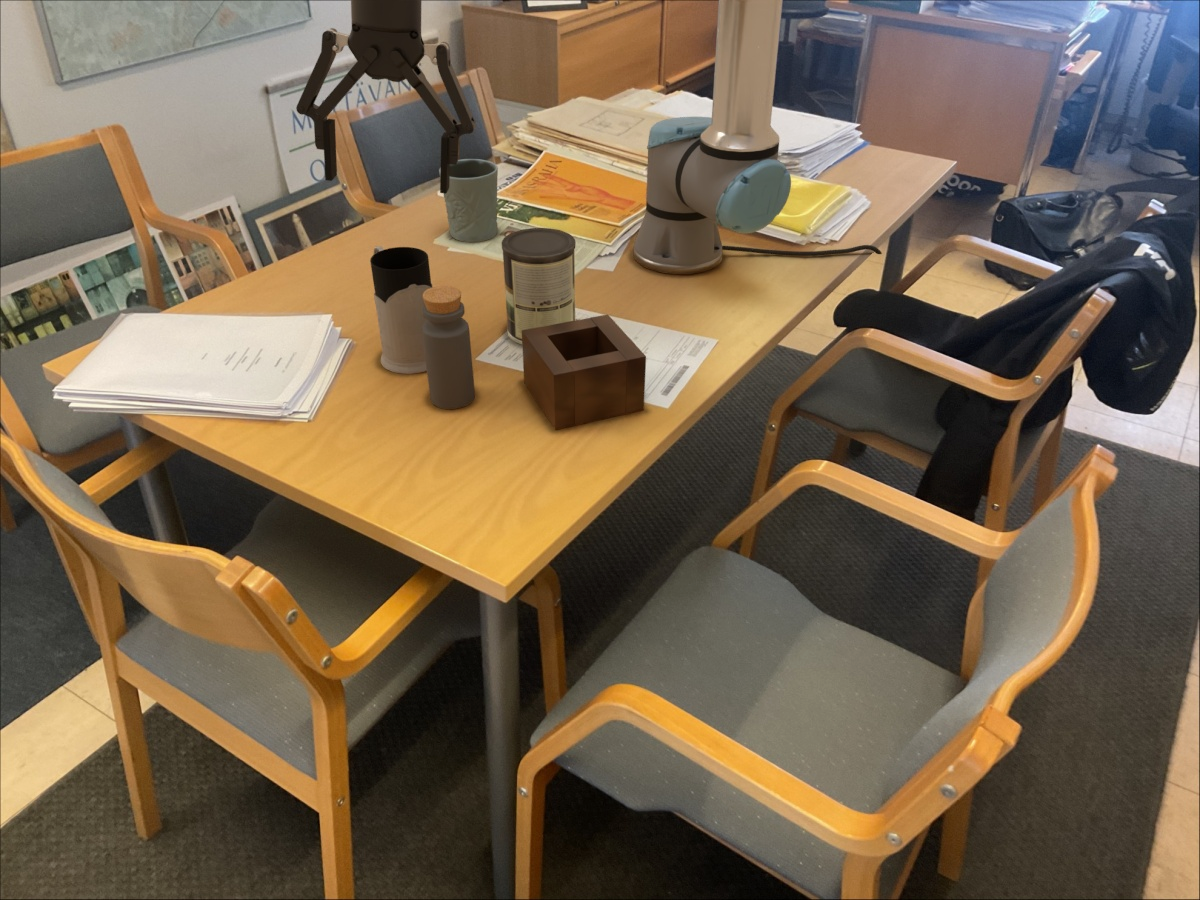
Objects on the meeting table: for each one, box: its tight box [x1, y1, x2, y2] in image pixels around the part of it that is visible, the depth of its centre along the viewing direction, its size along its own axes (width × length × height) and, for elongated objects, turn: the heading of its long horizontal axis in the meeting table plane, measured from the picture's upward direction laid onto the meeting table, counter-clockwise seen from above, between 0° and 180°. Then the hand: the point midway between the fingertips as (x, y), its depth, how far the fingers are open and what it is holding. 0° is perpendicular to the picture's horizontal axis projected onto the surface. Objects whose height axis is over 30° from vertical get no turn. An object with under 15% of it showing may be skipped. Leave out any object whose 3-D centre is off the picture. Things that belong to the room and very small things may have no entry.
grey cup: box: [438, 158, 499, 243], centre depth 160 cm, size 10×10×12 cm
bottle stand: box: [521, 314, 647, 431], centre depth 116 cm, size 12×12×8 cm
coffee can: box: [501, 227, 577, 346], centre depth 129 cm, size 10×10×14 cm
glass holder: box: [369, 245, 434, 375], centre depth 124 cm, size 9×14×15 cm, turn 32°
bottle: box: [422, 285, 476, 410], centre depth 114 cm, size 6×6×15 cm
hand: (388, 184), depth 109 cm, fingers open, 13 cm apart
